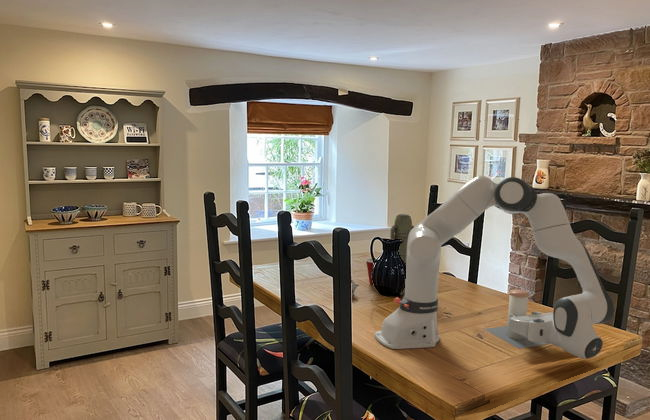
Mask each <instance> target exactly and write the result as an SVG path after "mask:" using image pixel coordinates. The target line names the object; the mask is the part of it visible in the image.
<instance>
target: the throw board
mask: <svg viewBox="0 0 650 420" xmlns="http://www.w3.org/2000/svg"><path fill="white" fill-rule="evenodd" d="M483 330H484V331H486V332H488V333H490V334H492V335H493V336H495V337H496V338H497V337H498V338H499V339H500V340H503V341H504V342H507V343H508V344H510V345H512V346H513V347H515V348H517V349H520V350H521V349H526V348H531V347H537V346H538V347H539V346H543V345H549V344H548V343H544V342H532V341H529V340H528V337H525V338H524V339H512V338H509V337H508V336H507V325H504V326H494V327H488V328H483Z"/></svg>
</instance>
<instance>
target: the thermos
mask: <svg viewBox="0 0 650 420" xmlns="http://www.w3.org/2000/svg"><path fill="white" fill-rule="evenodd" d="M393 224H394V225H392V226H391V228H390V234H389V235H390V239H389V241H390V240H392V239H402V240H404V242H403V241H402V242H403V243H402V244H400V247H399V250H398V252H400V253H399V255H401V256H400V257H402V258H401V259H402V260H403V261H404V262H405V263H406V258H407V241H408V235H409V233H410V231H411V230H412V229H413V228H414V227H415V226H414V225H413V221H412V217H411V216H410V215H409V214H403V213H401V214H397V215H396V217H395V219H394V223H393ZM399 296H405V288H404V289H403V291H402V292H401V293H400V295H399Z"/></svg>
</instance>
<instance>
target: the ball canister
mask: <svg viewBox="0 0 650 420" xmlns="http://www.w3.org/2000/svg"><path fill="white" fill-rule="evenodd" d="M529 293H530V292H528V291H527V290H522V289H510V290H509V299H508V313H507V324H506V326H507V336H508V337H509V338H512V339H524V338H525V337H524V336H522V335H520V334H518V333H516V332H514V331H513V330H511V329H510V327H509V322H510V319H509V315H510V314H515V315H517V316H516V317H519V316H527V315H528V305H529V304H528V303H529Z"/></svg>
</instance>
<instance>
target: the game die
mask: <svg viewBox="0 0 650 420" xmlns="http://www.w3.org/2000/svg"><path fill="white" fill-rule="evenodd" d="M350 277H351V283H352V296H355V292H356V290H357V287H358V286H360V285H359V284H357V283H356V282H355V281H354V280H353V278H352V277H353V276H350Z"/></svg>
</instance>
